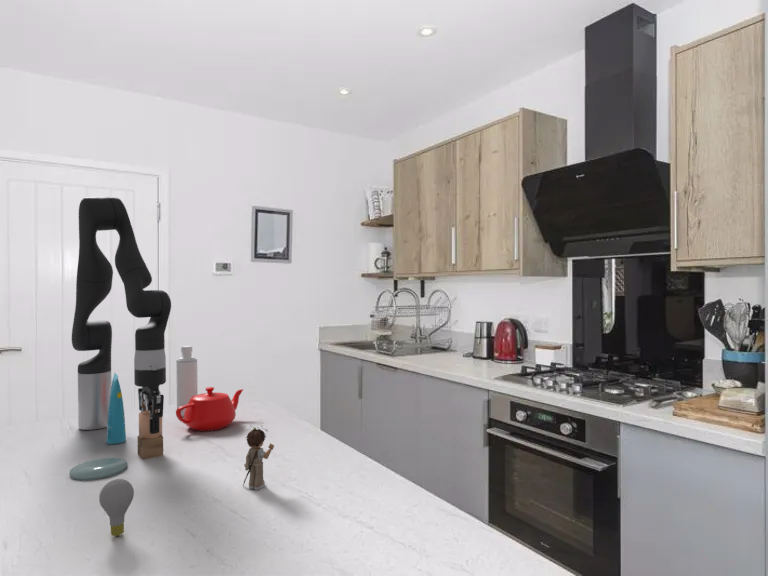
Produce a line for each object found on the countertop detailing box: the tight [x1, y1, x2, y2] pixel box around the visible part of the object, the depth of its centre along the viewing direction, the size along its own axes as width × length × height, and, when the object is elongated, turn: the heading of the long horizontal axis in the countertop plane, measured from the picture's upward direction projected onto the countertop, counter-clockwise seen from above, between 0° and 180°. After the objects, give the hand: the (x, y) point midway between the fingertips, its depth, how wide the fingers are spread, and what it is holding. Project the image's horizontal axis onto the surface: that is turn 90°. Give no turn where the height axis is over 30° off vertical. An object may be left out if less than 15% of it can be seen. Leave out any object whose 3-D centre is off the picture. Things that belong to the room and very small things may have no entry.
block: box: [137, 435, 164, 460], centre depth 134 cm, size 5×5×5 cm
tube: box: [106, 372, 127, 445], centre depth 146 cm, size 7×5×19 cm, turn 39°
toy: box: [240, 418, 275, 491], centre depth 113 cm, size 6×6×15 cm
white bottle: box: [175, 345, 199, 418], centre depth 175 cm, size 7×7×25 cm
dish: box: [69, 457, 128, 481], centre depth 123 cm, size 12×12×1 cm
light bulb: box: [98, 478, 135, 538], centre depth 91 cm, size 6×5×10 cm
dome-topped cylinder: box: [138, 410, 163, 439], centre depth 135 cm, size 6×6×7 cm
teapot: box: [175, 386, 244, 432], centre depth 162 cm, size 25×16×12 cm, turn 145°
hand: (150, 430), depth 135 cm, fingers closed on dome-topped cylinder, 5 cm apart
